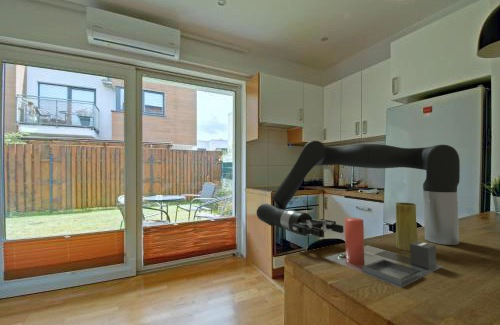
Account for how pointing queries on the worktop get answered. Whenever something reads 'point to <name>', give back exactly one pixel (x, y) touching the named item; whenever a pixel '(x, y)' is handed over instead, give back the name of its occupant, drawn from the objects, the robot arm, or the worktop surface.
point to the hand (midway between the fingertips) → (333, 231)
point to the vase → (406, 225)
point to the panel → (386, 266)
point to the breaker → (423, 255)
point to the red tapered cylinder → (354, 240)
